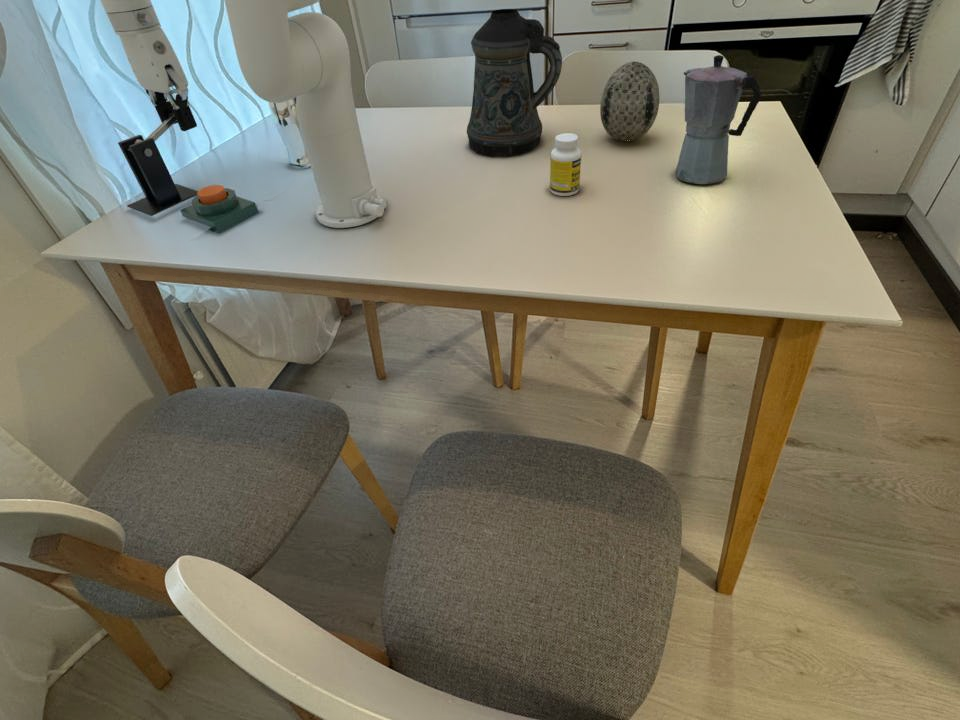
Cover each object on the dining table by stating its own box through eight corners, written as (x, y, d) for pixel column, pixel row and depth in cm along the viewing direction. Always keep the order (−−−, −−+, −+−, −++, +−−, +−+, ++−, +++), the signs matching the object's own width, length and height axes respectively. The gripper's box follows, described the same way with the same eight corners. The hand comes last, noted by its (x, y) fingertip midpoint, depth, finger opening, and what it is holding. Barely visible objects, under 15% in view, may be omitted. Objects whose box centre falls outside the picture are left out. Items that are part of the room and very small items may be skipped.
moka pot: (684, 157, 108) (704, 43, 95) (755, 181, 99) (789, 57, 85) (652, 172, 105) (668, 55, 91) (722, 198, 95) (752, 71, 82)
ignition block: (259, 212, 105) (251, 193, 102) (219, 234, 100) (210, 213, 97) (224, 201, 110) (216, 182, 107) (184, 220, 105) (175, 201, 102)
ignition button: (232, 196, 103) (229, 187, 101) (210, 207, 100) (206, 198, 99) (217, 191, 105) (214, 182, 104) (195, 201, 102) (191, 193, 101)
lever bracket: (178, 189, 116) (149, 127, 108) (203, 197, 112) (174, 133, 104) (129, 210, 110) (94, 147, 101) (153, 220, 106) (119, 155, 97)
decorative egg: (587, 138, 120) (591, 62, 109) (629, 125, 123) (637, 51, 113) (621, 155, 112) (629, 75, 102) (666, 141, 115) (678, 62, 105)
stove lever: (175, 116, 109) (166, 105, 107) (191, 119, 107) (182, 109, 105) (132, 157, 106) (122, 147, 104) (147, 162, 103) (137, 152, 101)
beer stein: (462, 135, 127) (449, 9, 110) (543, 123, 128) (543, -3, 112) (475, 163, 114) (464, 25, 98) (565, 149, 116) (569, 11, 99)
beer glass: (311, 170, 118) (290, 96, 108) (282, 169, 120) (258, 97, 110) (324, 157, 123) (305, 85, 113) (296, 157, 125) (275, 86, 115)
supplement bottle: (574, 198, 99) (576, 144, 92) (545, 195, 101) (546, 141, 94) (583, 186, 103) (586, 132, 96) (555, 182, 104) (556, 130, 98)
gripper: (180, 18, 94) (222, 126, 106) (130, 14, 102) (174, 115, 115) (140, 28, 90) (188, 139, 102) (90, 23, 98) (140, 127, 110)
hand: (180, 125), depth 108 cm, fingers closed on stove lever, 5 cm apart
